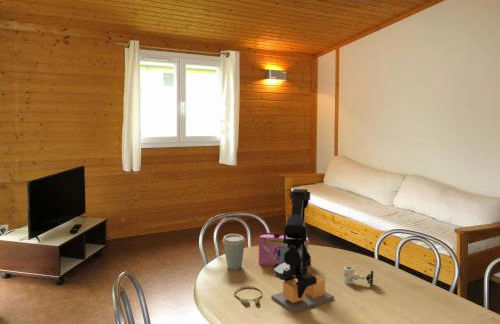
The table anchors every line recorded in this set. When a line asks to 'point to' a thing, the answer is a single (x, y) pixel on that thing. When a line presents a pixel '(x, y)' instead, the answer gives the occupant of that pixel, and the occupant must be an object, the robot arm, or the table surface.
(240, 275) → the table surface
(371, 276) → the valve
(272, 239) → the gum box
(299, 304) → the board
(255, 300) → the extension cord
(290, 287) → the matte orange cube
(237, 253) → the disposable coffee cup
